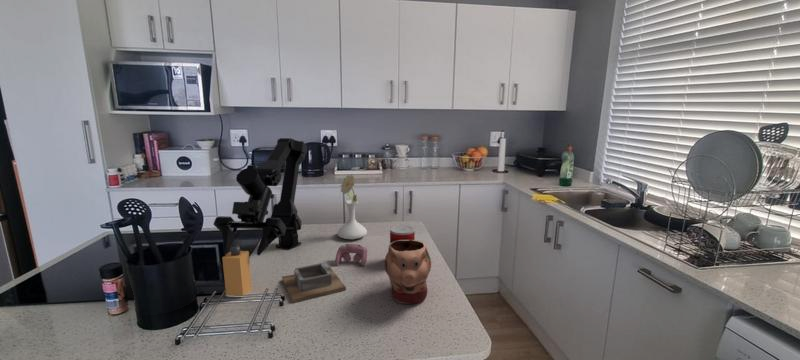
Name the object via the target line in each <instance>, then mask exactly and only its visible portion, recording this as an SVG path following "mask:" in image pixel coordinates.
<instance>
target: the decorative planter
mask: <svg viewBox="0 0 800 360" xmlns="http://www.w3.org/2000/svg"><path fill="white" fill-rule="evenodd" d="M387 249H388V250H387V253H386V255H385V258H384V270H385V272H386V274H387V276H388V278H389V282H390V286H391V290H390V294H391V298H392V299H393V300H394V301H395V302H398V303H400V304H417V303H421V302H424V301H425V300H426V298H427V296H428V285H427V279H428V277H429V274H430V272H431V269H432V259H431V256H430V254H429V252H428V249H427V246H426V244H425V243H424V242H423V241H421V240H416V239H415V240H398V241H394V242H392V243H391V244H390V243H389V245H388V248H387Z"/></svg>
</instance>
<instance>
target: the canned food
mask: <svg viewBox="0 0 800 360" xmlns="http://www.w3.org/2000/svg"><path fill="white" fill-rule="evenodd" d="M415 232H416V231H415V228H414V227H413V226H412V225H406V224H405V225H404V224H399V225H394V226H392V227H391V228H390V231H389V245H390V244H391V243H392V242H394V241H398V240H416V239H415V234H416V233H415Z"/></svg>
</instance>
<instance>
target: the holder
mask: <svg viewBox="0 0 800 360" xmlns="http://www.w3.org/2000/svg"><path fill="white" fill-rule="evenodd" d="M293 272H294V273H293V274H290V275H285V276H281V278H282V279H281V280H282V283H283V285H284V287H285V288H286V290H287V293H288V295H289V298H290V300H291V301H292V304H294V303H299V302H303V301H308V300H312V299H315V298H319V297H325V296H328V295H332V294H335V293H340V292H344V291H346V290H347V289H346V288H347V287H346V285H345V284H344V282H342V280H341V279H340V278H339V277H338V275H337V274H336V273H335V272H334V270H333V269H332V267H330V266H328V267H327V265H326V264H325V263H324V264H323V263H315V264H310V265H306V266H301V267H296V268H295V269H294V270H293Z"/></svg>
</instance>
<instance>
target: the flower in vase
mask: <svg viewBox="0 0 800 360" xmlns="http://www.w3.org/2000/svg"><path fill="white" fill-rule="evenodd" d="M355 183H356V177H355V175H354V174H353V173H351V174H350V173H348V175H346V176H345V177H344V178H343V180H342V183H341V184H340V193H342V195H347V197H348V198H349V199H350V200H348V199H347V200H346V201H344V203H345V205H346V207H347V211H348V220H347V222H345V223H344V224H343V225H342V226H340V228H339V229H338V230H337V232H336V235H338V237H339V238H342V239H345V240H357V239H361V238H364V237H365V236H366V235H367V233H368V231H367V228H365V226H364V225H362V224H361V223H359V222H358V221H357V220H356V206H357V205H358V203H359V200H357V194H355V190H354V189H353V187H354V186H355ZM351 191H352V192H353V195H352V194H351V193H350V192H351Z"/></svg>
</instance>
